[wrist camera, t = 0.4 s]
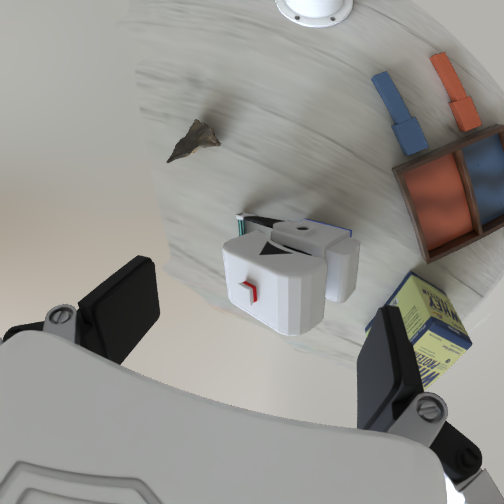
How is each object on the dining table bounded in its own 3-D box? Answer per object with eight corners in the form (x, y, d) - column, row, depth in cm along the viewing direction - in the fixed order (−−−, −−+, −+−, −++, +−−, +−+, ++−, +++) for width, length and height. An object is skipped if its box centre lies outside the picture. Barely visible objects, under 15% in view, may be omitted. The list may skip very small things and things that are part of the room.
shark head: (197, 170, 46) (179, 177, 40) (174, 146, 45) (153, 149, 39) (228, 138, 43) (212, 139, 37) (203, 113, 42) (184, 111, 36)
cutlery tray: (391, 168, 38) (396, 171, 35) (496, 124, 28) (505, 124, 26) (422, 256, 42) (427, 264, 39) (517, 209, 32) (525, 214, 30)
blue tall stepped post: (366, 80, 33) (368, 77, 31) (387, 72, 32) (390, 69, 30) (404, 154, 37) (408, 156, 34) (424, 146, 35) (429, 147, 33)
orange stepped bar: (425, 59, 28) (430, 56, 26) (442, 54, 27) (448, 51, 25) (460, 131, 32) (466, 131, 30) (476, 124, 30) (482, 125, 28)
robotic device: (277, 201, 53) (184, 229, 41) (380, 225, 38) (291, 276, 26) (279, 251, 57) (194, 288, 46) (372, 286, 42) (290, 354, 30)
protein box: (446, 291, 43) (474, 344, 30) (400, 345, 51) (411, 402, 37) (409, 268, 44) (434, 321, 30) (363, 329, 51) (368, 388, 37)
